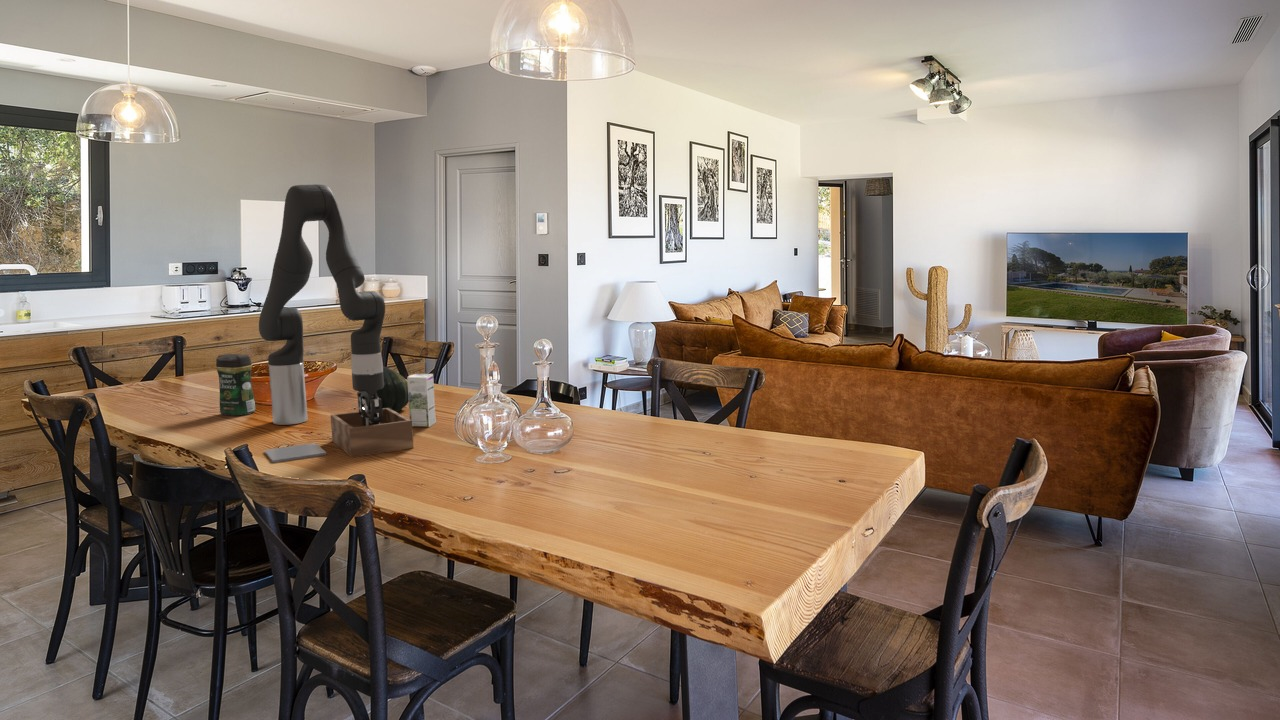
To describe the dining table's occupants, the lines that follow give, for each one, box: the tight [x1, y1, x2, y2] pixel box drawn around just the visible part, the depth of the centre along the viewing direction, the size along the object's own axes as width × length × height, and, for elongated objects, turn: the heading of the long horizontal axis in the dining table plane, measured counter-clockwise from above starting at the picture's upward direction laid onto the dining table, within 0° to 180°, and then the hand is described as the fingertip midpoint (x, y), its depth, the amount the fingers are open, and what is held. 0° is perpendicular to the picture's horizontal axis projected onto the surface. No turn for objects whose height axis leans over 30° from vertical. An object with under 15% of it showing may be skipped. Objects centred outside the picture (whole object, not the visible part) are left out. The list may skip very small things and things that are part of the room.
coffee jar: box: [215, 353, 256, 417], centre depth 242 cm, size 10×8×19 cm
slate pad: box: [264, 442, 327, 464], centre depth 194 cm, size 12×12×1 cm
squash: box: [358, 365, 409, 413], centre depth 244 cm, size 14×15×15 cm
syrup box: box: [406, 373, 437, 428], centre depth 223 cm, size 6×6×14 cm
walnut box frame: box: [330, 408, 414, 458], centre depth 202 cm, size 20×15×7 cm
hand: (371, 435), depth 202 cm, fingers open, 6 cm apart
